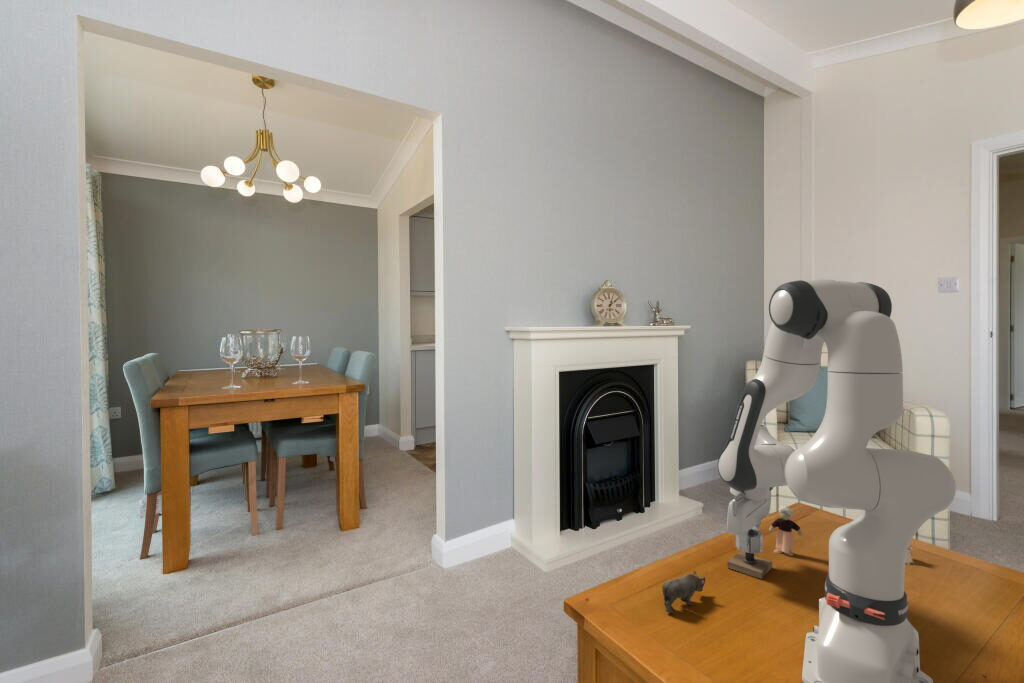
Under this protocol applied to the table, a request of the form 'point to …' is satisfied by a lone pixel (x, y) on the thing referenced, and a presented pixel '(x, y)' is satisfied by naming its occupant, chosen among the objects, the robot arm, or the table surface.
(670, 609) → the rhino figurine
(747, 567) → the post block
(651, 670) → the table surface
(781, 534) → the grandmother figurine
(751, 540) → the steel ring
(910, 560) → the mouse figurine
